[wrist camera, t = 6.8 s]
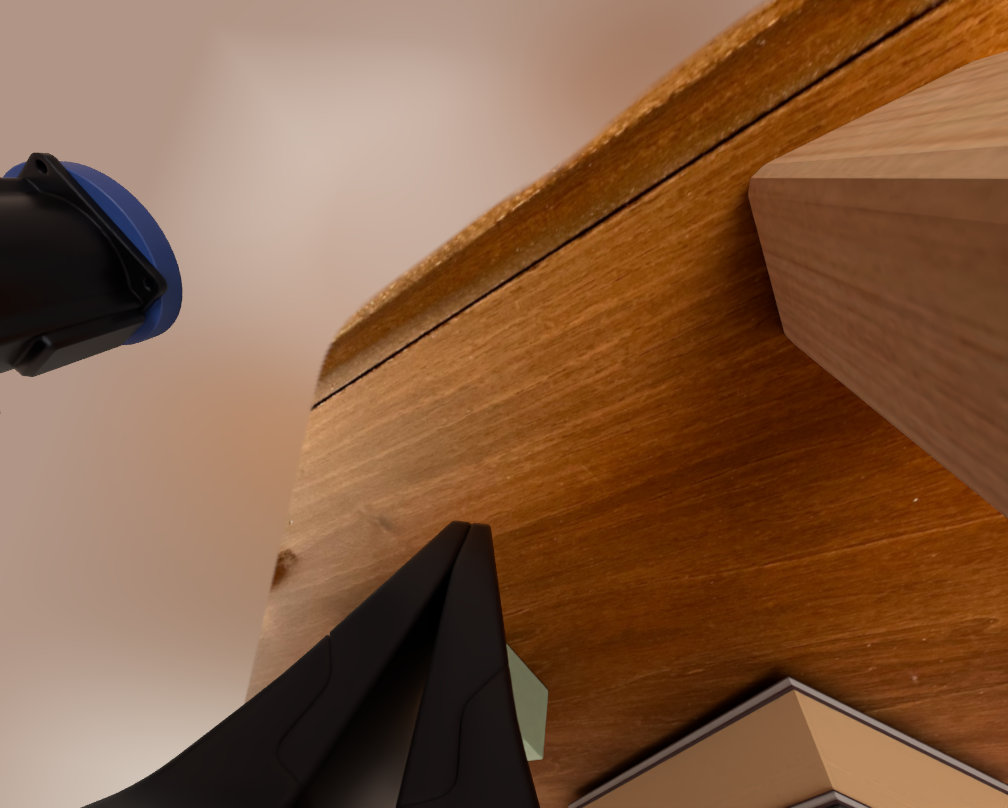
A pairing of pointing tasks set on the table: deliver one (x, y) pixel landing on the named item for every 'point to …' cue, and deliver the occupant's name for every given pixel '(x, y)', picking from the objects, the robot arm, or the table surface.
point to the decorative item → (906, 264)
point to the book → (798, 763)
